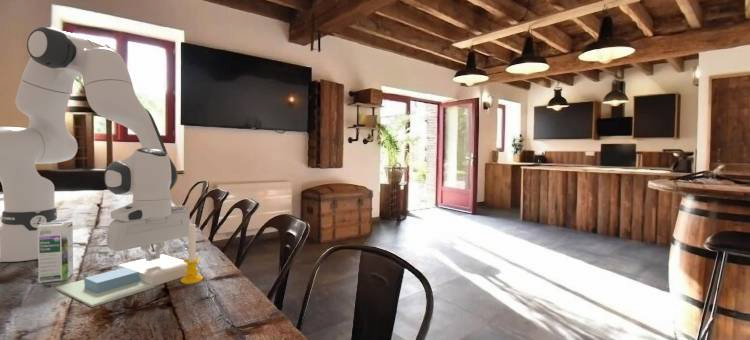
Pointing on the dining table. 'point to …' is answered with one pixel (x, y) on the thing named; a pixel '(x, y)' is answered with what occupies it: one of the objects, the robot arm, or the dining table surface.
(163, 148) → the robot arm
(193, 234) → the candle
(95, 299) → the mat
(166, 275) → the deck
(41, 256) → the syrup box
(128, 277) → the tile
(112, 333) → the dining table surface
